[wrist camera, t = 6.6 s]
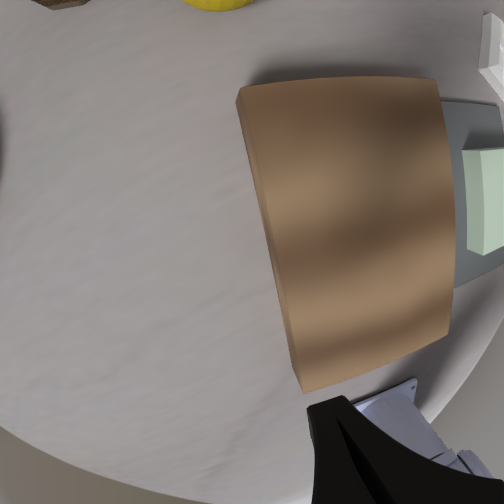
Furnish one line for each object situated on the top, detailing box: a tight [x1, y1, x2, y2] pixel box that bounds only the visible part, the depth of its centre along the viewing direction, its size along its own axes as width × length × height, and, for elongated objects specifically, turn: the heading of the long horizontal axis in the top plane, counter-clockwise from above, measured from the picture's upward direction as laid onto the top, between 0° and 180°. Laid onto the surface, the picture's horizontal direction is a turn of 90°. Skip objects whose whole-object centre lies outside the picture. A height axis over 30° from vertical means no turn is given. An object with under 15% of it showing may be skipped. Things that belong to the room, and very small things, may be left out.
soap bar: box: [478, 13, 504, 101], centre depth 14 cm, size 5×9×3 cm, turn 156°
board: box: [236, 76, 456, 394], centre depth 16 cm, size 18×12×3 cm, turn 13°
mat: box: [441, 101, 504, 289], centre depth 18 cm, size 15×11×1 cm
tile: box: [462, 147, 504, 256], centre depth 17 cm, size 8×6×2 cm
